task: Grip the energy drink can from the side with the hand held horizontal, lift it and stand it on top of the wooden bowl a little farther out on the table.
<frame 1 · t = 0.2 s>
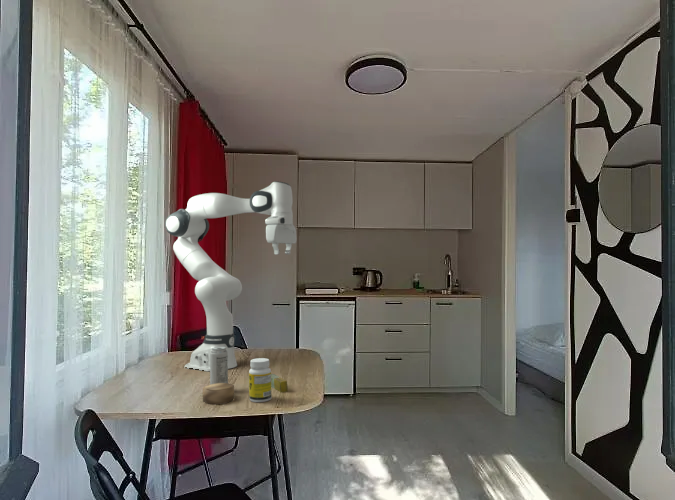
hand: (282, 254, 194), 48 cm above the table, tool pointing down, fingers open, 8 cm apart
wooden bowl: (218, 399, 155), on the table
supplement bottle: (260, 400, 154), on the table
medication box: (277, 389, 168), on the table
energy drink can: (219, 391, 165), on the table
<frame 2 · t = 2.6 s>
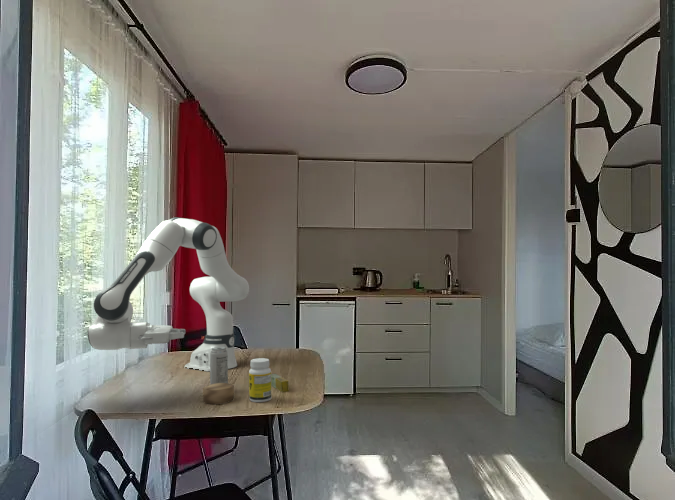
hand: (184, 333, 163), 21 cm above the table, tool horizontal, fingers open, 8 cm apart
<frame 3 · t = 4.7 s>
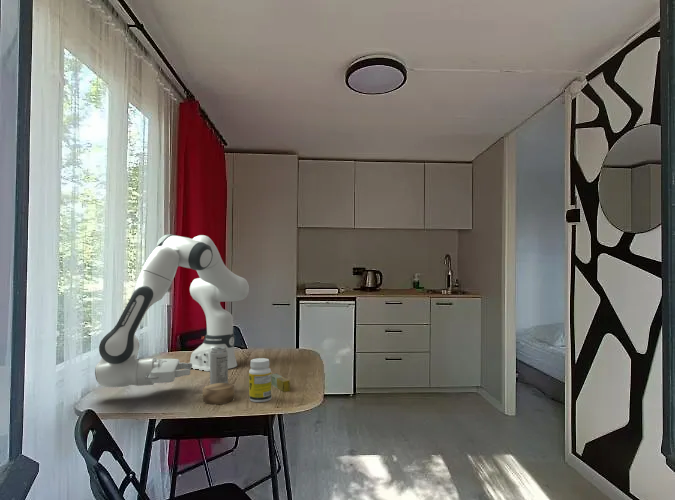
hand: (191, 368, 163), 8 cm above the table, tool horizontal, fingers open, 8 cm apart
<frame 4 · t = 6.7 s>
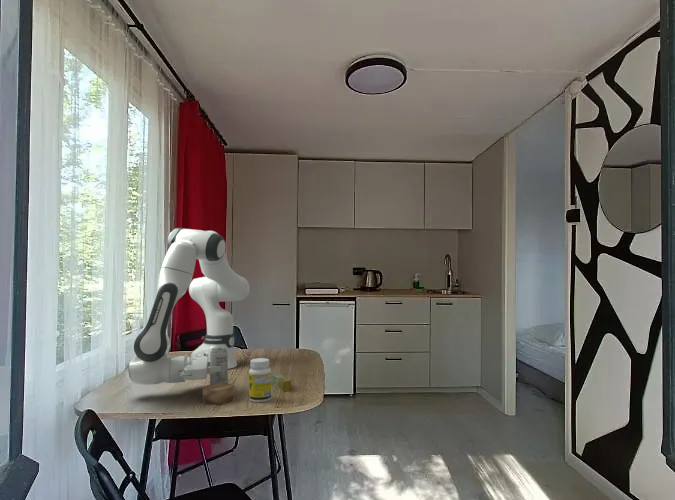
hand: (221, 366, 165), 9 cm above the table, tool horizontal, fingers open, 6 cm apart
energy drink can: (219, 391, 165), on the table, touching gripper
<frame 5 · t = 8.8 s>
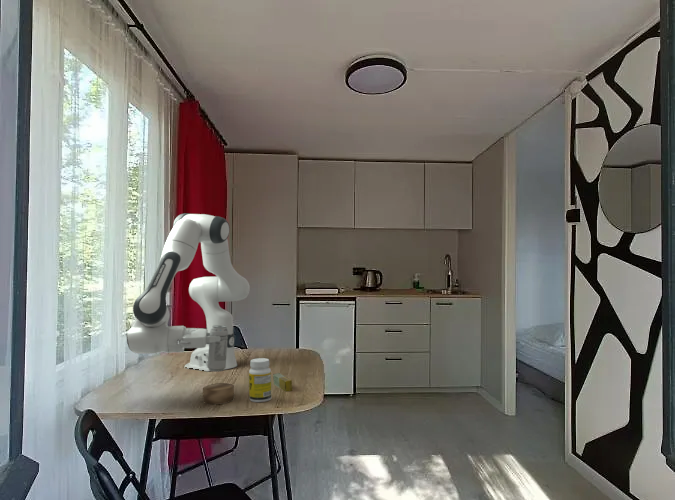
hand: (220, 337, 163), 19 cm above the table, tool horizontal, fingers closed on energy drink can, 5 cm apart
energy drink can: (216, 370, 162), point 8 cm above the table, touching gripper
when the fingers open (14 cm above the table, at t = 11.0 s): energy drink can stays where it is, resting on wooden bowl.
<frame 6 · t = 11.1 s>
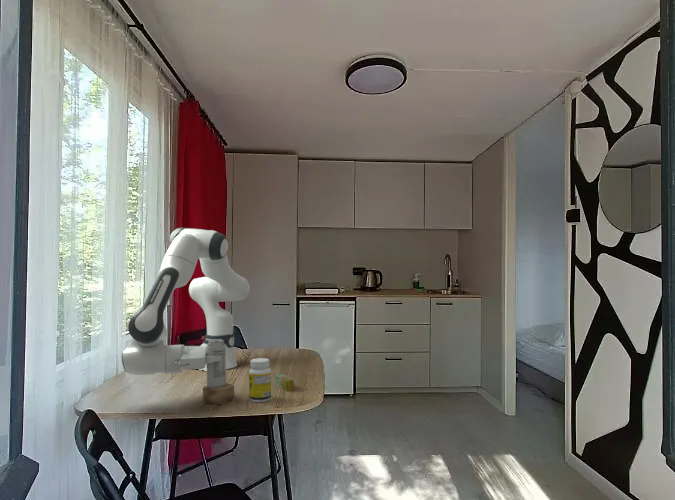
hand: (220, 355, 155), 14 cm above the table, tool horizontal, fingers open, 6 cm apart
energy drink can: (216, 387, 154), point 4 cm above the table, touching wooden bowl
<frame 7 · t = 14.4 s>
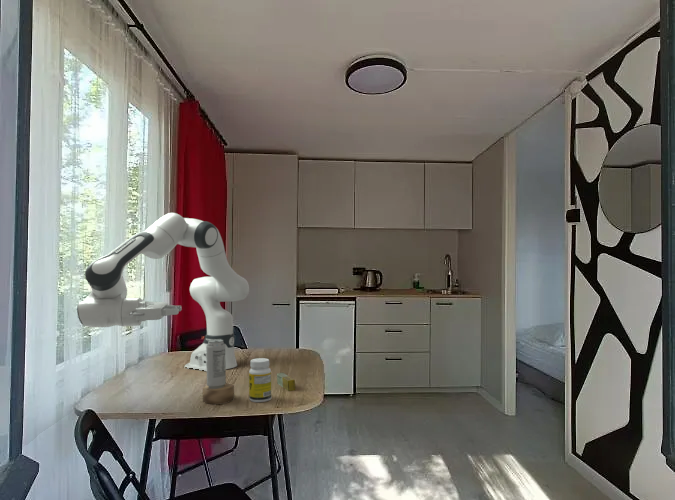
hand: (179, 309, 153), 30 cm above the table, tool horizontal, fingers open, 8 cm apart
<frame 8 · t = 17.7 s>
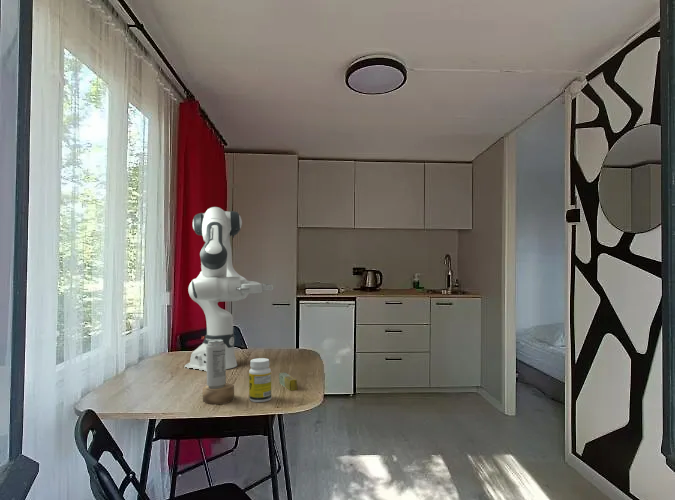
hand: (272, 286, 185), 35 cm above the table, tool horizontal, fingers open, 8 cm apart
at the end: energy drink can 0.8 cm off-centre on the wooden bowl, point 4.1 cm above the wooden bowl's base; energy drink can tilted 0°; the gripper is holding nothing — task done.
